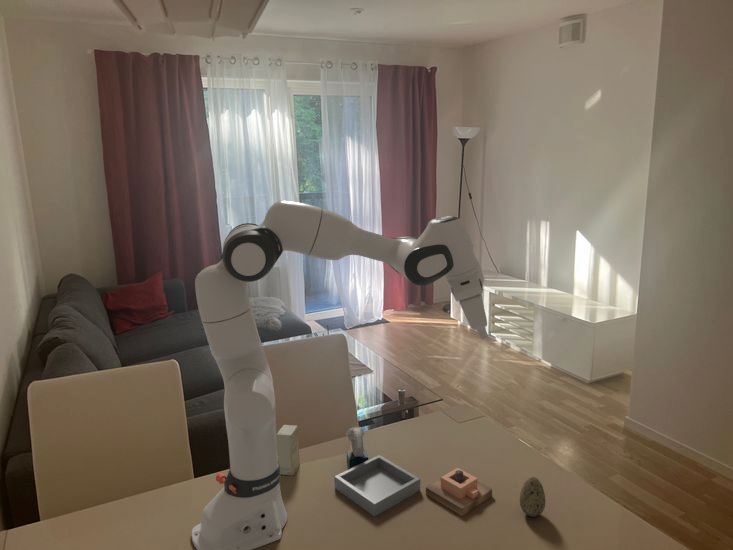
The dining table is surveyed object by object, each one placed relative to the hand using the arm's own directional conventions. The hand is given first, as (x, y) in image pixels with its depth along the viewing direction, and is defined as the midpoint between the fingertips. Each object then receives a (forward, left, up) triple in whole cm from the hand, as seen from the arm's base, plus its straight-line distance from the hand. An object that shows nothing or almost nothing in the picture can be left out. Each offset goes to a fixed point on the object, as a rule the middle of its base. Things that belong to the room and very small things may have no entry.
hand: (482, 329), depth 133 cm
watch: (-16, +31, -44) cm, 56 cm away
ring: (-6, +2, -42) cm, 42 cm away
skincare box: (-32, +42, -44) cm, 69 cm away
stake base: (-6, +2, -44) cm, 44 cm away
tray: (-20, +18, -44) cm, 51 cm away
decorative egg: (+1, -15, -44) cm, 47 cm away
